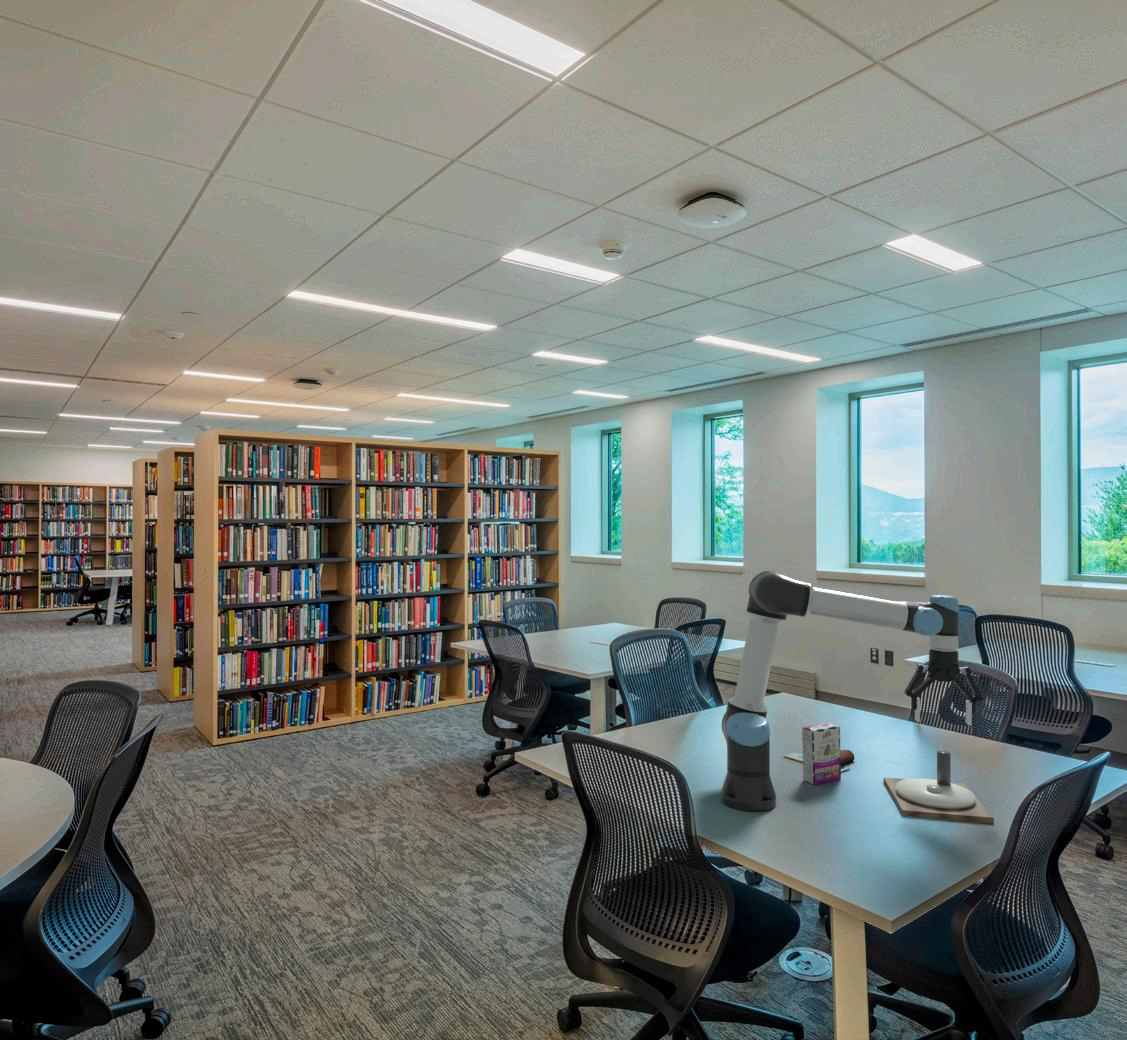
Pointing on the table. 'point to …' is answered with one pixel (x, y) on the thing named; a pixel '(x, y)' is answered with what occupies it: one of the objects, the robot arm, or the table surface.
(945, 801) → the dial
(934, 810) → the dial base
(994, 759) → the table surface
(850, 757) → the sunglasses case
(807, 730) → the candy bar box
